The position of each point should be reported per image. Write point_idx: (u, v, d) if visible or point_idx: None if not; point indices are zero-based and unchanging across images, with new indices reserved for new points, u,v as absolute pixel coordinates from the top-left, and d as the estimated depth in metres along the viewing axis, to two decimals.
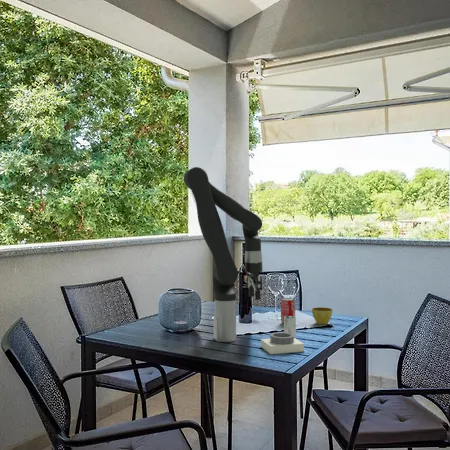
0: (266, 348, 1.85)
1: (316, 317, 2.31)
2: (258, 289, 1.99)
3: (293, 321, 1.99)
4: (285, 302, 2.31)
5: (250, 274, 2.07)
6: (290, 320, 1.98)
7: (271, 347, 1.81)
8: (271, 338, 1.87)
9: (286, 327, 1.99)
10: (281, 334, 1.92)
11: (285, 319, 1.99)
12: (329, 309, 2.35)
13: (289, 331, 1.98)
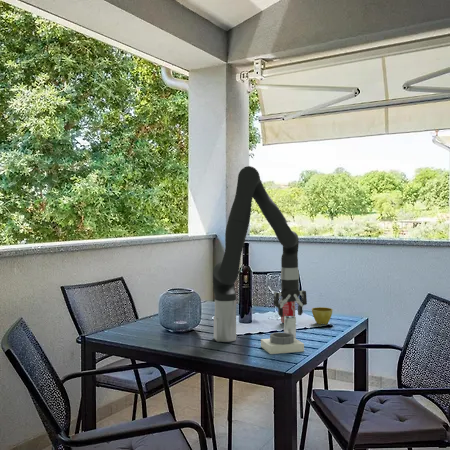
0: (266, 348, 1.85)
1: (316, 317, 2.31)
2: None
3: (293, 321, 1.99)
4: None
5: (288, 292, 2.00)
6: (290, 320, 1.98)
7: (271, 347, 1.81)
8: (271, 338, 1.87)
9: (286, 327, 1.99)
10: (281, 334, 1.92)
11: (285, 319, 1.99)
12: (329, 309, 2.35)
13: (289, 331, 1.98)
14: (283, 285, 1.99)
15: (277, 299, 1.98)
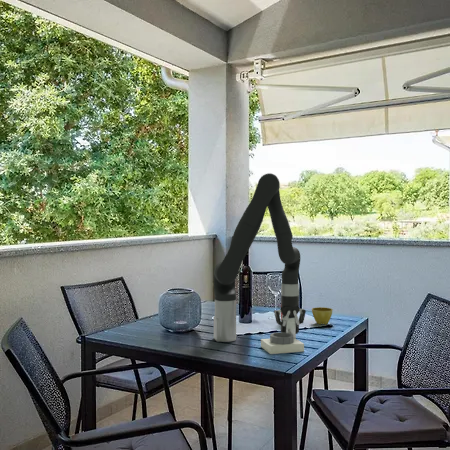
0: (266, 348, 1.85)
1: (316, 317, 2.31)
2: None
3: (293, 321, 1.99)
4: None
5: (287, 308, 1.99)
6: (290, 320, 1.98)
7: (271, 347, 1.81)
8: (271, 338, 1.87)
9: (286, 327, 1.99)
10: (281, 334, 1.92)
11: None
12: (329, 309, 2.35)
13: (289, 331, 1.98)
14: (283, 301, 1.99)
15: (278, 317, 1.98)
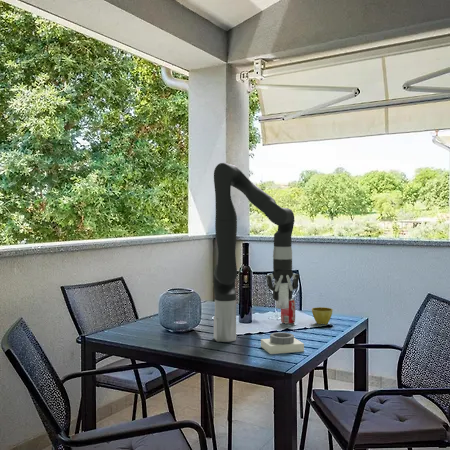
0: (266, 348, 1.85)
1: (316, 317, 2.31)
2: None
3: (286, 286, 1.86)
4: None
5: (280, 273, 1.87)
6: (282, 285, 1.86)
7: (271, 347, 1.81)
8: (271, 338, 1.87)
9: (278, 293, 1.87)
10: (281, 334, 1.92)
11: None
12: (329, 309, 2.35)
13: (282, 297, 1.86)
14: (275, 265, 1.86)
15: (270, 282, 1.86)
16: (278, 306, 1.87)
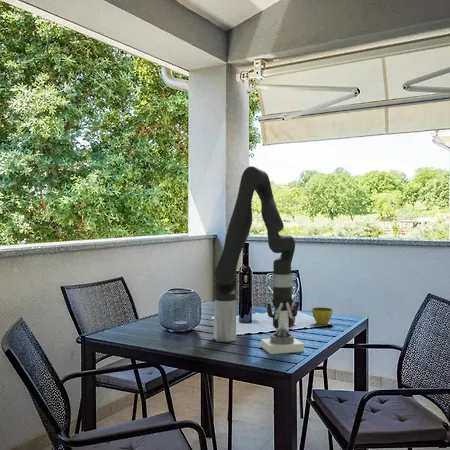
0: (266, 348, 1.85)
1: (316, 317, 2.31)
2: None
3: (286, 314, 1.86)
4: None
5: (280, 300, 1.87)
6: (282, 313, 1.86)
7: (271, 347, 1.81)
8: (271, 338, 1.87)
9: (278, 320, 1.87)
10: None
11: None
12: (329, 309, 2.35)
13: (281, 324, 1.86)
14: (275, 293, 1.86)
15: (270, 310, 1.86)
16: (278, 334, 1.87)
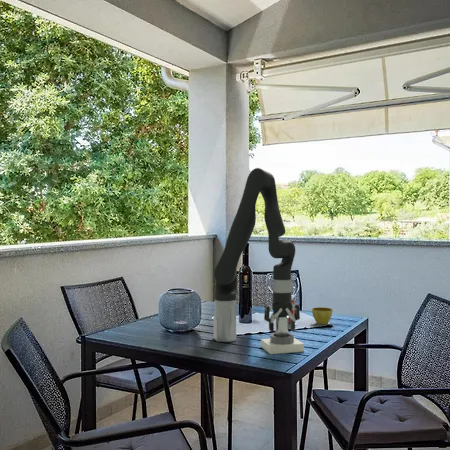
0: (266, 348, 1.85)
1: (316, 317, 2.31)
2: None
3: (285, 320, 1.86)
4: None
5: (279, 306, 1.87)
6: (281, 320, 1.86)
7: (271, 347, 1.81)
8: (271, 338, 1.87)
9: (278, 327, 1.86)
10: None
11: (277, 318, 1.87)
12: (329, 309, 2.35)
13: (281, 331, 1.86)
14: (274, 298, 1.86)
15: (268, 313, 1.85)
16: None
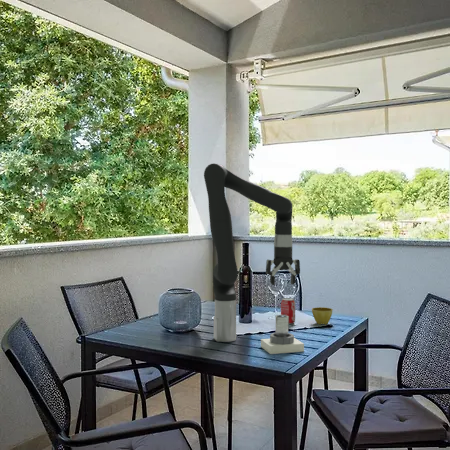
0: (266, 348, 1.85)
1: (316, 317, 2.31)
2: None
3: (285, 320, 1.86)
4: (285, 302, 2.31)
5: (280, 260, 1.94)
6: (281, 320, 1.86)
7: (271, 347, 1.81)
8: (271, 338, 1.87)
9: (278, 327, 1.86)
10: None
11: (277, 318, 1.87)
12: (329, 309, 2.35)
13: (281, 331, 1.86)
14: (276, 252, 1.94)
15: (269, 266, 1.93)
16: None
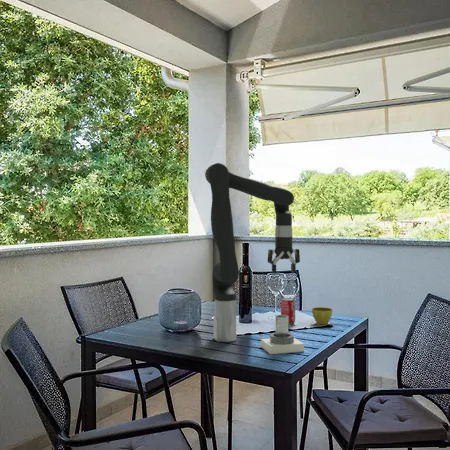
0: (266, 348, 1.85)
1: (316, 317, 2.31)
2: None
3: (285, 320, 1.86)
4: (285, 302, 2.31)
5: (281, 249, 2.06)
6: (281, 320, 1.86)
7: (271, 347, 1.81)
8: (271, 338, 1.87)
9: (278, 327, 1.86)
10: None
11: (277, 318, 1.87)
12: (329, 309, 2.35)
13: (281, 331, 1.86)
14: (277, 242, 2.05)
15: (271, 256, 2.04)
16: None
